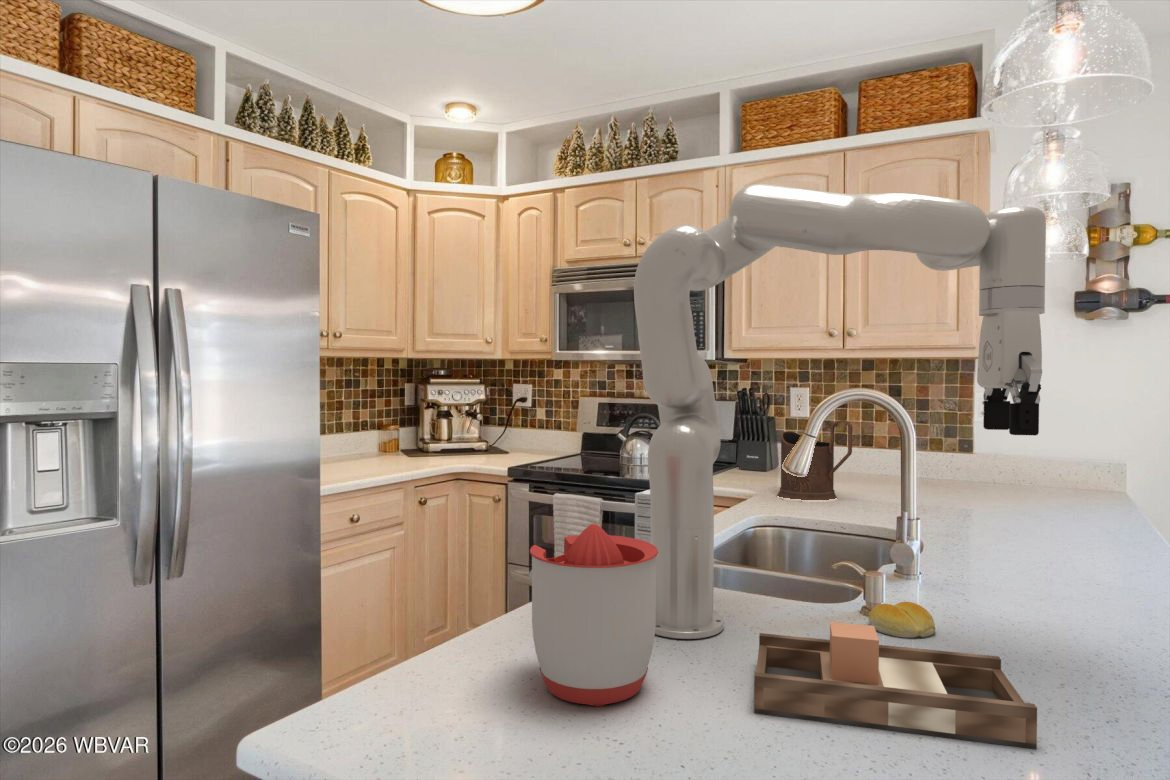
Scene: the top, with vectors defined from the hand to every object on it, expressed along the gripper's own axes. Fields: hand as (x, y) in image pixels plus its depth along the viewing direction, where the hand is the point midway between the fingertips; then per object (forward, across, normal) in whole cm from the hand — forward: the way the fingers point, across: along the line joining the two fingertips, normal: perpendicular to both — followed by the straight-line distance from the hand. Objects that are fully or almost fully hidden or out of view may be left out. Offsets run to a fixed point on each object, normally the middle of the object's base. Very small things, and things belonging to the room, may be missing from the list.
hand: (1009, 432), depth 95 cm
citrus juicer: (+31, +20, -53) cm, 64 cm away
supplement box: (+31, -26, -48) cm, 63 cm away
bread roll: (+31, -10, -11) cm, 34 cm away
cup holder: (+31, -127, -12) cm, 131 cm away
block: (+28, +17, -22) cm, 39 cm away
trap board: (+31, +17, -19) cm, 40 cm away
